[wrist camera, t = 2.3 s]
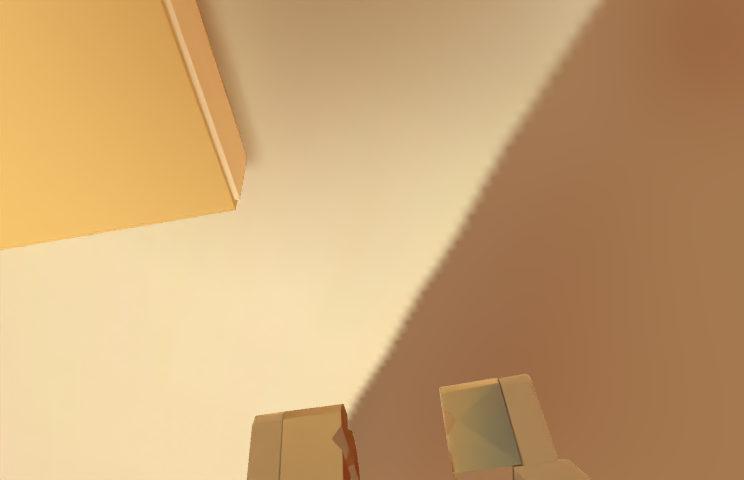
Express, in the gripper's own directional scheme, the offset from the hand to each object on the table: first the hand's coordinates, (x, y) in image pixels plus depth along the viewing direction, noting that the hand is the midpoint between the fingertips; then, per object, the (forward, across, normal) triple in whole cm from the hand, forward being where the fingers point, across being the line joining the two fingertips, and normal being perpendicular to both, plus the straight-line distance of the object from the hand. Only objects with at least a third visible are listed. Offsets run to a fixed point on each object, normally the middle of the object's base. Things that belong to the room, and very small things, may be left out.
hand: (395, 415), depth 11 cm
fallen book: (+20, +13, 0) cm, 23 cm away
